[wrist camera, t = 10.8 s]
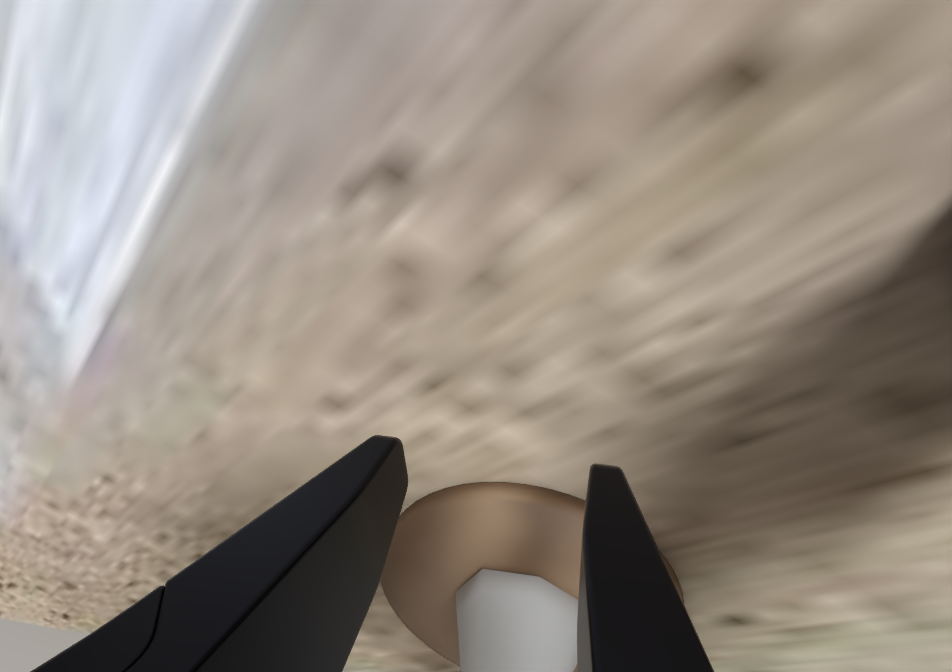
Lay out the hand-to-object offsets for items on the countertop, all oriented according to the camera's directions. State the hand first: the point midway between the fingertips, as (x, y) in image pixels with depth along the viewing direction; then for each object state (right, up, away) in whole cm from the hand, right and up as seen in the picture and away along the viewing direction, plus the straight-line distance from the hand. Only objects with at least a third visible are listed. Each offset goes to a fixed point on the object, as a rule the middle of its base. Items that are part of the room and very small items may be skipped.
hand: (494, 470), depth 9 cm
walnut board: (+3, -12, +23) cm, 26 cm away
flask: (+2, -12, +22) cm, 25 cm away
